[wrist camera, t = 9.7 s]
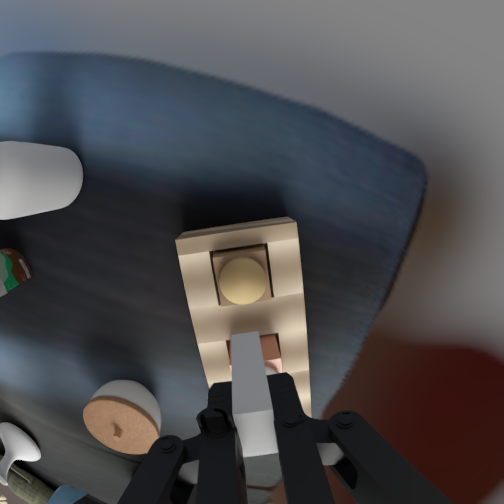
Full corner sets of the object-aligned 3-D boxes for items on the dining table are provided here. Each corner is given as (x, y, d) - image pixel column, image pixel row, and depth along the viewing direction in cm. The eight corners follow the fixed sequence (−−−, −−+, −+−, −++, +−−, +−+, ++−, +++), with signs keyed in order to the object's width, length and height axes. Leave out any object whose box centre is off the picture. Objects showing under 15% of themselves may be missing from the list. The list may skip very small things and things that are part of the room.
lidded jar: (181, 395, 40) (172, 441, 30) (146, 429, 41) (134, 471, 32) (118, 353, 38) (95, 394, 28) (90, 393, 39) (68, 431, 30)
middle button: (278, 370, 34) (286, 401, 28) (236, 376, 34) (238, 408, 28) (274, 334, 33) (282, 363, 27) (229, 340, 33) (229, 371, 27)
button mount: (304, 410, 41) (311, 432, 37) (226, 421, 41) (226, 445, 36) (287, 216, 35) (296, 222, 30) (183, 231, 34) (175, 240, 30)
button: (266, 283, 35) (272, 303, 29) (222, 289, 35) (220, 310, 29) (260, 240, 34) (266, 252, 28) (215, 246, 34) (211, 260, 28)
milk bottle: (89, 148, 31) (-28, 130, 12) (81, 211, 33) (-35, 244, 14) (42, 147, 31) (-74, 137, 11) (35, 205, 32) (-79, 231, 13)
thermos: (101, 528, 41) (-21, 449, 35) (89, 544, 39) (-25, 472, 33) (106, 507, 50) (-7, 434, 44) (93, 524, 48) (-12, 457, 42)
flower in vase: (37, 460, 43) (0, 533, 19) (-1, 429, 41) (-46, 496, 17) (50, 443, 42) (6, 528, 18) (8, 407, 40) (-49, 484, 15)
